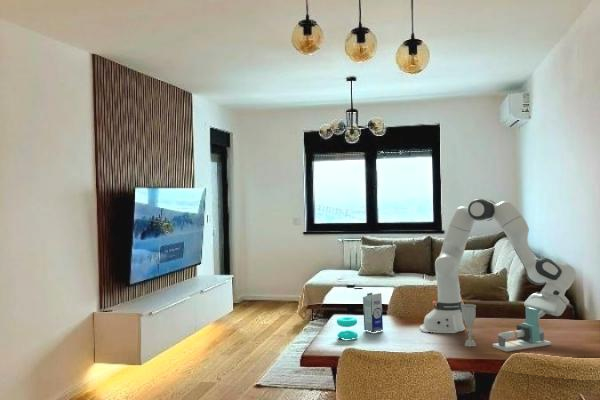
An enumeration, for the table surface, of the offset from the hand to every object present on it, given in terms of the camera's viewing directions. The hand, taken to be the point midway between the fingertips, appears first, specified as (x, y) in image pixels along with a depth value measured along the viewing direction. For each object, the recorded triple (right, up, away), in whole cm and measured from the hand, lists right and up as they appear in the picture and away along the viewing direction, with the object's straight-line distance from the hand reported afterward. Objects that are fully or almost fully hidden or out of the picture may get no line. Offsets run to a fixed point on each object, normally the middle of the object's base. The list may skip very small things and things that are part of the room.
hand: (534, 318), depth 249 cm
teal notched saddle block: (-2, -9, -1) cm, 10 cm away
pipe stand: (-7, -12, -3) cm, 14 cm away
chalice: (-29, -13, +2) cm, 31 cm away
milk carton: (-68, -14, +35) cm, 78 cm away
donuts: (-82, -15, +23) cm, 87 cm away
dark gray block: (-6, -9, -2) cm, 11 cm away
